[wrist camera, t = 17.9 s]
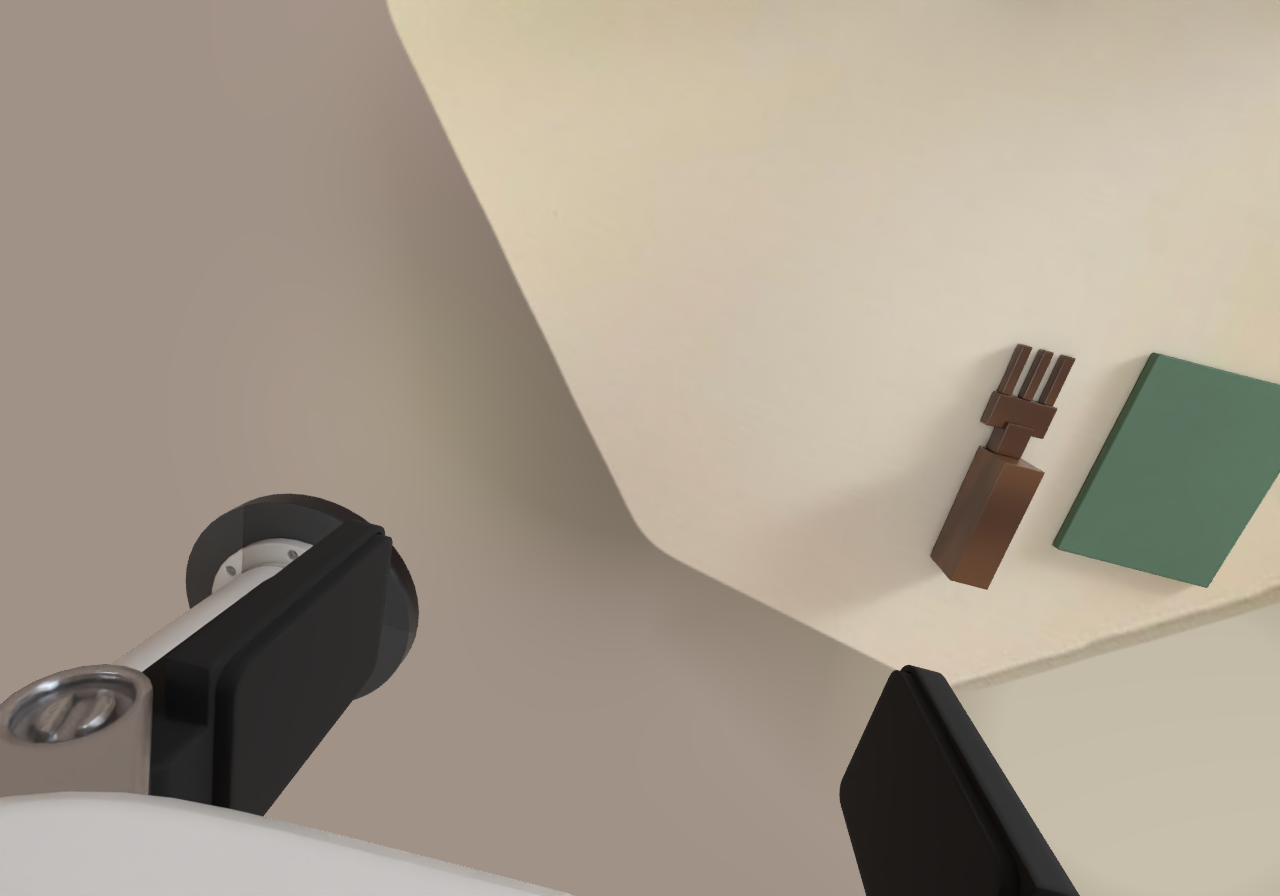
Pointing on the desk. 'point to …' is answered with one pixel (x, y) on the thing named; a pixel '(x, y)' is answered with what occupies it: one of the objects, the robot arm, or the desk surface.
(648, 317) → the desk surface
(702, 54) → the desk surface
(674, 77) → the desk surface
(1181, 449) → the towel
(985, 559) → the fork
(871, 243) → the desk surface
